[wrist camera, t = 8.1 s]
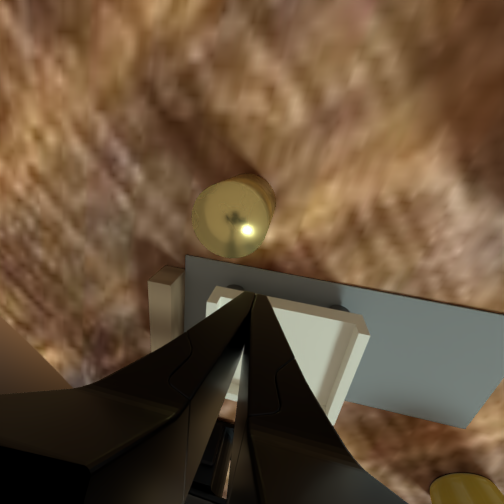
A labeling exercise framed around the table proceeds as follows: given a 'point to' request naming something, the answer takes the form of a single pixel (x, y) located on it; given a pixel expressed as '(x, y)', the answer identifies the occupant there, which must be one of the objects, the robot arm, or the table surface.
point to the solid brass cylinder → (234, 215)
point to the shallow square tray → (312, 345)
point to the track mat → (385, 340)
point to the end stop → (166, 305)
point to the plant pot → (464, 490)
